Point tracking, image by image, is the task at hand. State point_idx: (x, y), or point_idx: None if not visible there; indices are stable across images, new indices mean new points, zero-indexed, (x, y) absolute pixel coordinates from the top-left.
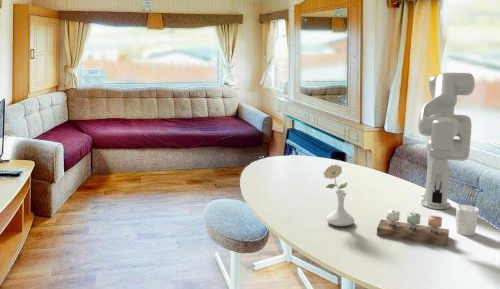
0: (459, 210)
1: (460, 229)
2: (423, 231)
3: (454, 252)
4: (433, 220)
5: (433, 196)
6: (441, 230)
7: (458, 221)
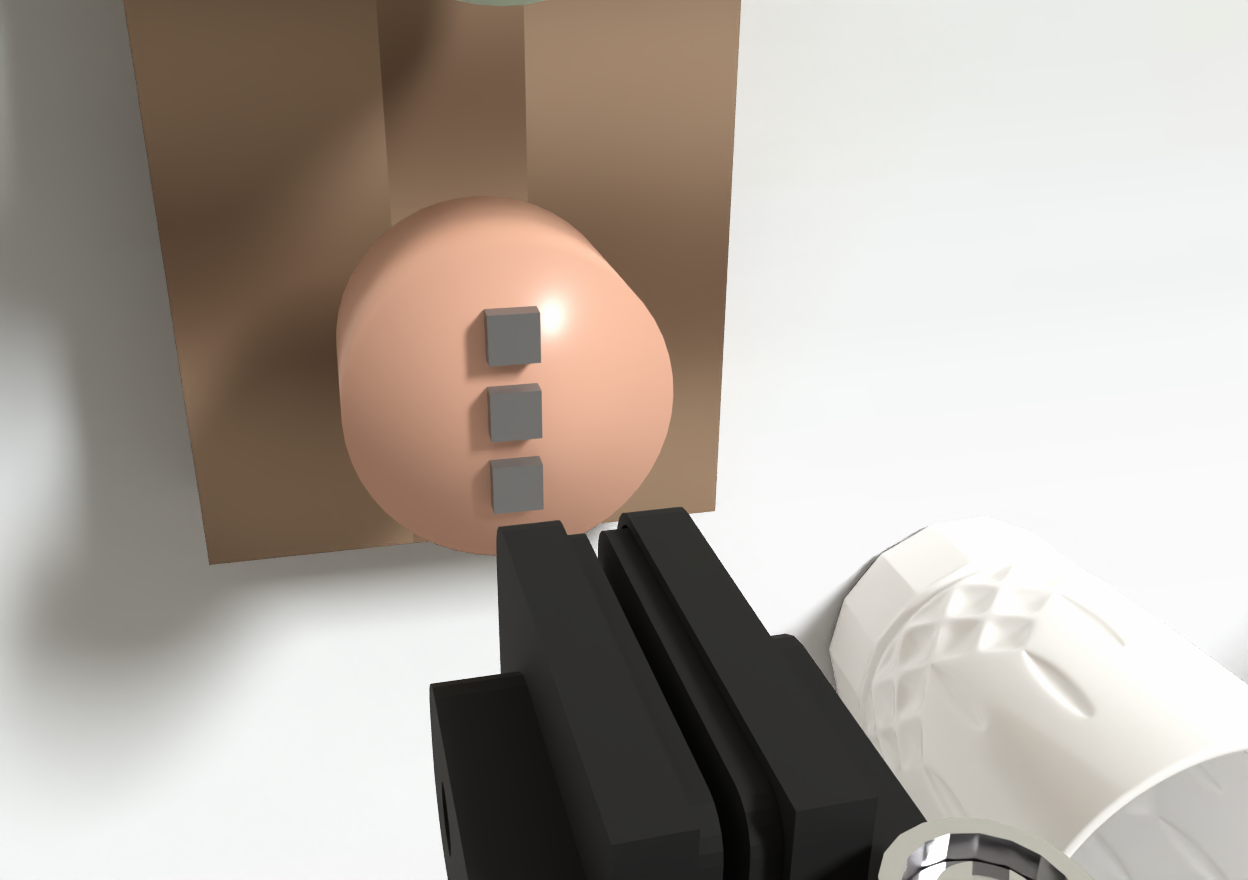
0: (1084, 797)
1: (886, 620)
2: (373, 85)
3: (28, 608)
4: (340, 376)
5: (545, 718)
6: None
7: (966, 655)
